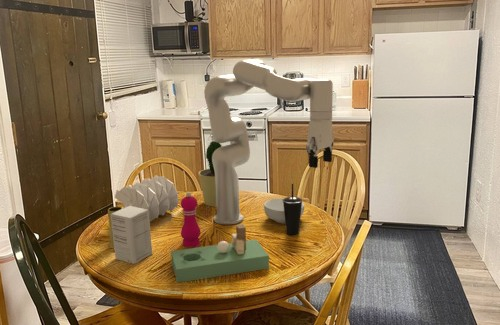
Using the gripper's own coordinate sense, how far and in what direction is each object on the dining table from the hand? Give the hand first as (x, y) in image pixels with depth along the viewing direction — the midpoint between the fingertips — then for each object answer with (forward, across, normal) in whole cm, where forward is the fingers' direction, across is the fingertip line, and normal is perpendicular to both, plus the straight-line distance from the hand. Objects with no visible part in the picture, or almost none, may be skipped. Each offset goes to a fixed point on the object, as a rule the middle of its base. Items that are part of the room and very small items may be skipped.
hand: (320, 164), depth 164 cm
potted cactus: (+30, -13, -63) cm, 71 cm away
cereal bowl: (+30, -13, -24) cm, 41 cm away
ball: (+23, +34, -17) cm, 44 cm away
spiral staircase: (+30, +18, -72) cm, 80 cm away
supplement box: (+30, +47, -47) cm, 73 cm away
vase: (+30, +44, -60) cm, 80 cm away
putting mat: (+30, +35, -18) cm, 49 cm away
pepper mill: (+30, +28, -38) cm, 56 cm away
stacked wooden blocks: (+25, +29, -14) cm, 41 cm away
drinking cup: (+30, -2, -13) cm, 33 cm away
